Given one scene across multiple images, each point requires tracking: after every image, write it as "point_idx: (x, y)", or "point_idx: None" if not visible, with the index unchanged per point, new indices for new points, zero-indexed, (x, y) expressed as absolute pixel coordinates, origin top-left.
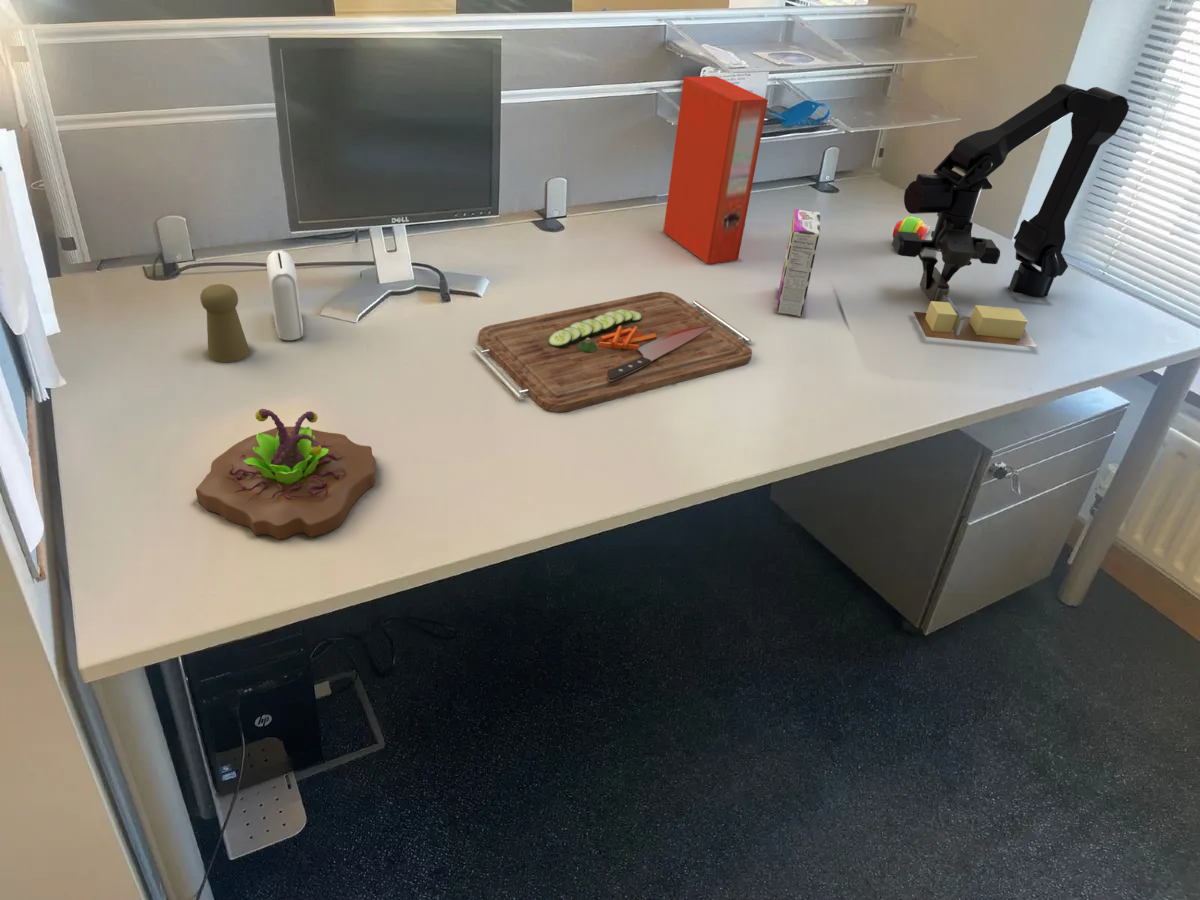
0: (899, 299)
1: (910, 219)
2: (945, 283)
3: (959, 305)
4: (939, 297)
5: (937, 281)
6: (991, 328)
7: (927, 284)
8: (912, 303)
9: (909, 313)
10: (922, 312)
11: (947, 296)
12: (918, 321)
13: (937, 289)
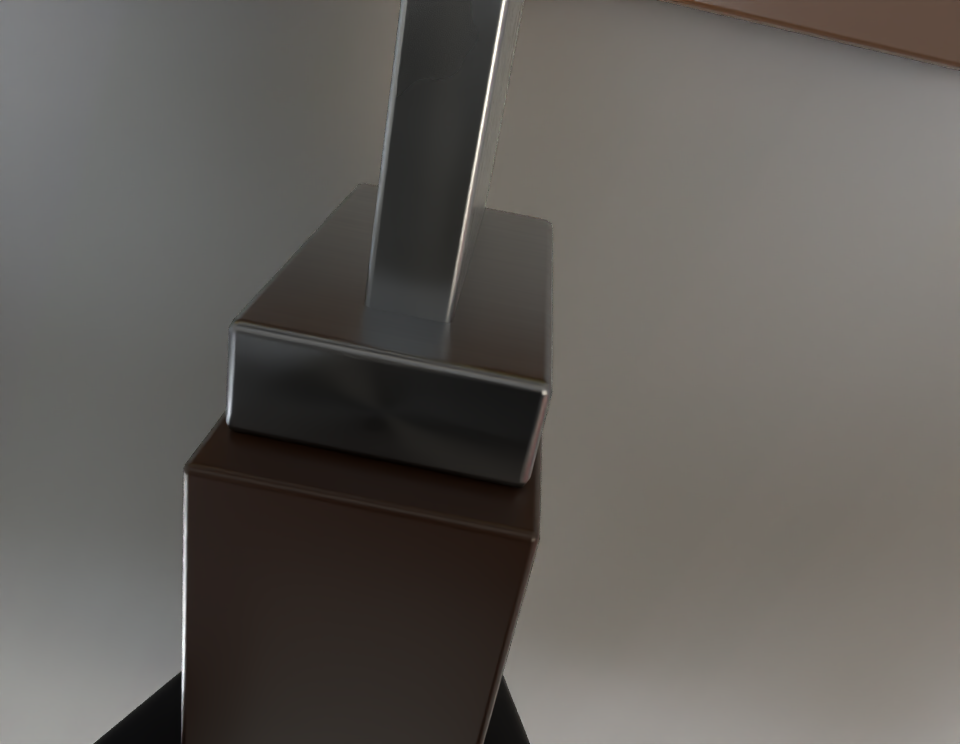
0: (776, 608)
1: None
2: (249, 609)
3: (11, 430)
4: (487, 266)
5: (436, 715)
6: None
7: (512, 737)
8: (658, 507)
9: (914, 222)
10: (880, 35)
11: (414, 3)
12: None
13: (537, 435)
